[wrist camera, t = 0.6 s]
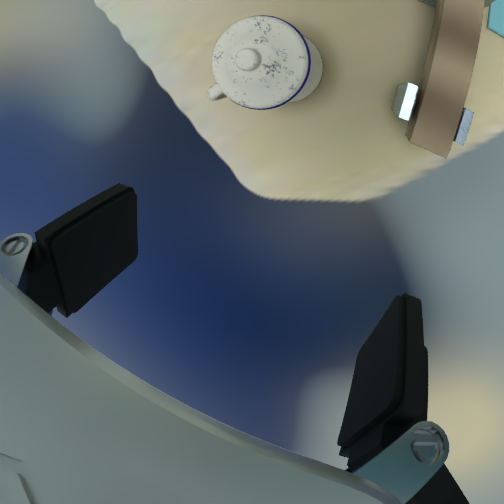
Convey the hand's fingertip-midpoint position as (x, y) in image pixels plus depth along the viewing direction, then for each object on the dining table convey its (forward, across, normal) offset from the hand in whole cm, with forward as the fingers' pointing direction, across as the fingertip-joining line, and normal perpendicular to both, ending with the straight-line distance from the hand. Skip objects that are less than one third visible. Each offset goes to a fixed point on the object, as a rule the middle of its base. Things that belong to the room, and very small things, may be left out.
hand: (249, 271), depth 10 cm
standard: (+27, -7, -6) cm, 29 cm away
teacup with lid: (+28, +9, -5) cm, 30 cm away
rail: (+20, -7, -13) cm, 25 cm away
